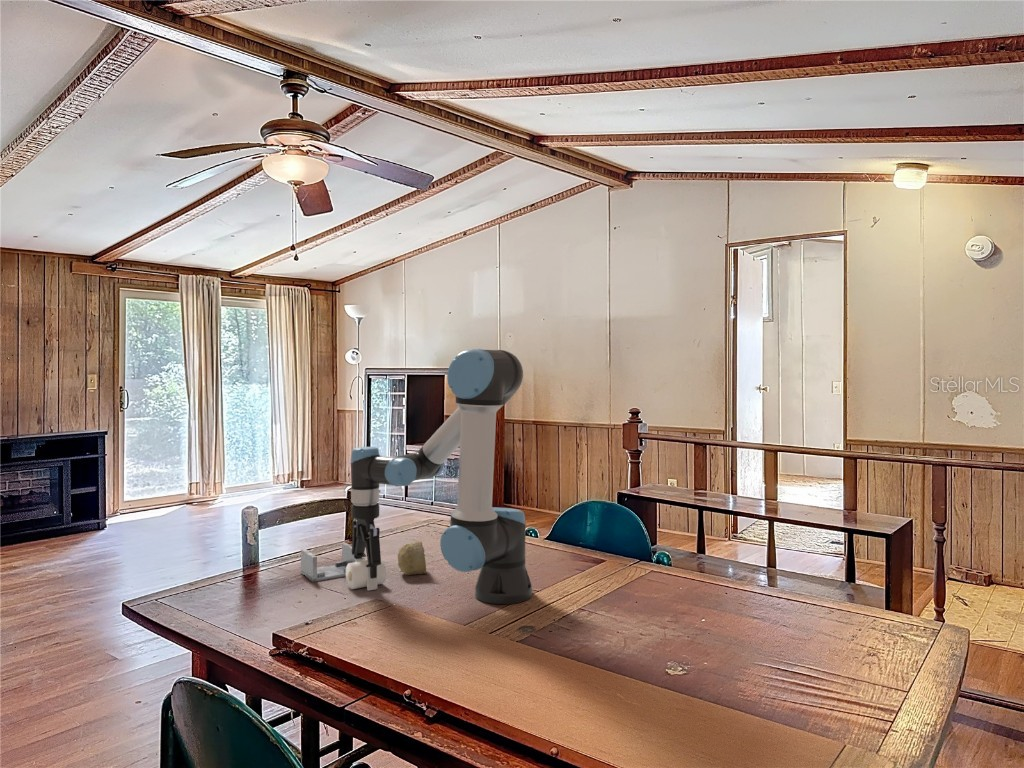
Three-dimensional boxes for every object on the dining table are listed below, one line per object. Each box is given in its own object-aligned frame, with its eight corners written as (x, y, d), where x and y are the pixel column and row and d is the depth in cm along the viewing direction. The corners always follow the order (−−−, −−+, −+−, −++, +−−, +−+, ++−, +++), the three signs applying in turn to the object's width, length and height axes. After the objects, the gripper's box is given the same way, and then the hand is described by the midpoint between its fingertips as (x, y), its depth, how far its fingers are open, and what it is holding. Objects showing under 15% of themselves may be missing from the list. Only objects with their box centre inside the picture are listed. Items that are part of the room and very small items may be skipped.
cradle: (346, 565, 217) (346, 542, 216) (359, 573, 207) (359, 550, 207) (300, 572, 209) (300, 549, 209) (312, 582, 200) (312, 557, 199)
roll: (377, 583, 200) (375, 558, 202) (387, 583, 195) (385, 557, 196) (346, 589, 195) (344, 563, 197) (355, 589, 190) (353, 563, 191)
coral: (438, 553, 204) (405, 541, 202) (423, 585, 204) (391, 573, 202) (436, 542, 213) (405, 531, 211) (422, 573, 213) (391, 561, 211)
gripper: (393, 507, 188) (394, 592, 189) (364, 496, 206) (364, 574, 206) (366, 511, 184) (367, 597, 185) (339, 499, 201) (339, 578, 202)
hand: (366, 585), depth 195 cm, fingers open, 8 cm apart
